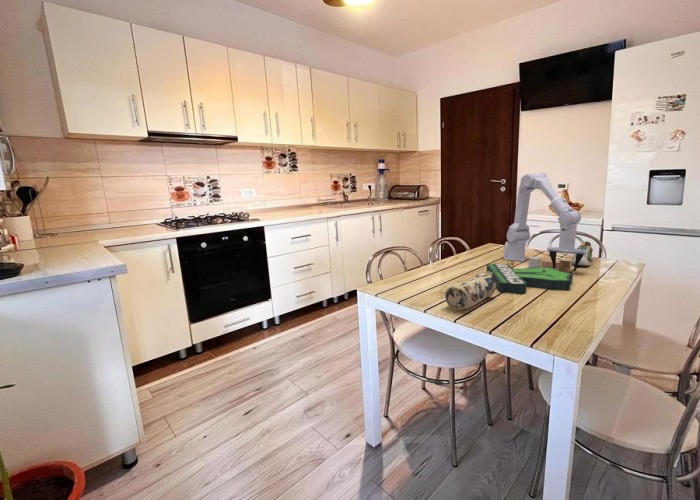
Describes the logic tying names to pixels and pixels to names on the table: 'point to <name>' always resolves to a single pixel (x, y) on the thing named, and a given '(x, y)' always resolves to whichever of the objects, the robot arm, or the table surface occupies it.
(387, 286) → the table surface
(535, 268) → the emblem
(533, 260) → the light grey block
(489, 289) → the pencil case
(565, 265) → the walnut block
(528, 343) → the table surface
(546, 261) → the terracotta tile
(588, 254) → the sneaker
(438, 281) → the table surface
